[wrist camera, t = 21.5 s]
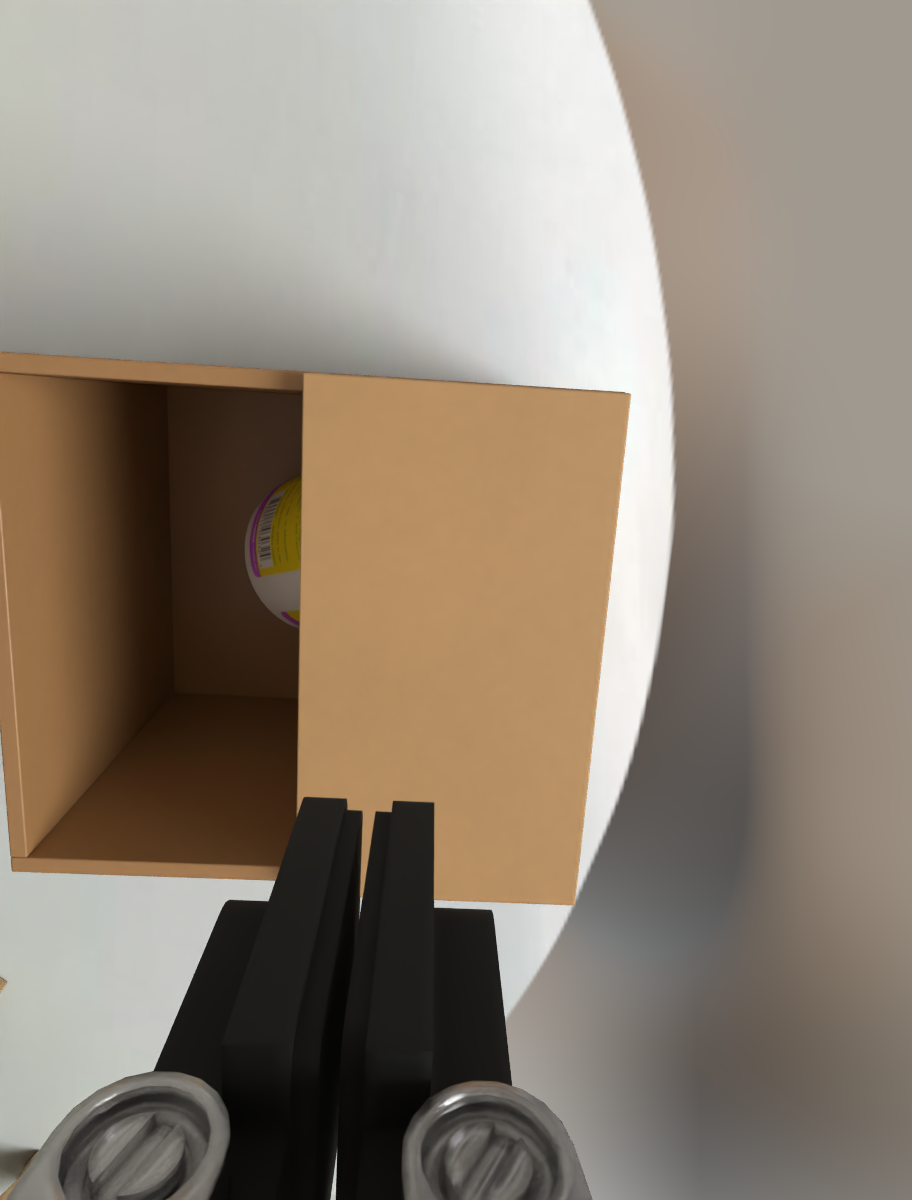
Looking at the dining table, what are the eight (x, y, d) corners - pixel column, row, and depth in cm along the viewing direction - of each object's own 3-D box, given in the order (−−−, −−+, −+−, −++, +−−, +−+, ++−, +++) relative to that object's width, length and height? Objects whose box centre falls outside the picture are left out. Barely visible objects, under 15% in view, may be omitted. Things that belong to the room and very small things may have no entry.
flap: (627, 393, 20) (631, 393, 20) (572, 897, 24) (574, 905, 23) (305, 372, 20) (302, 372, 20) (297, 887, 24) (295, 895, 23)
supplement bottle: (400, 584, 36) (619, 555, 26) (289, 663, 33) (496, 664, 23) (332, 452, 34) (540, 367, 24) (206, 519, 31) (392, 452, 21)
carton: (546, 398, 35) (627, 392, 21) (519, 714, 38) (572, 891, 24) (159, 373, 34) (-32, 349, 20) (167, 698, 38) (11, 872, 23)
